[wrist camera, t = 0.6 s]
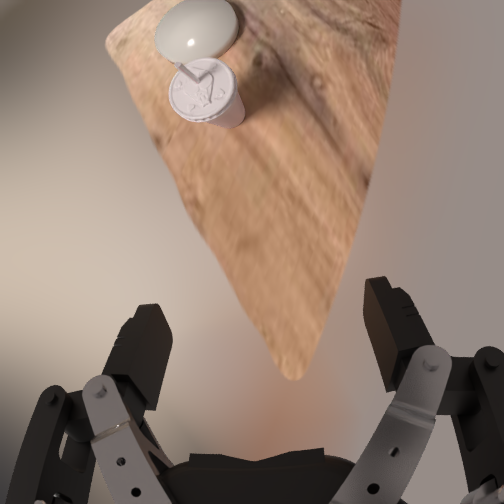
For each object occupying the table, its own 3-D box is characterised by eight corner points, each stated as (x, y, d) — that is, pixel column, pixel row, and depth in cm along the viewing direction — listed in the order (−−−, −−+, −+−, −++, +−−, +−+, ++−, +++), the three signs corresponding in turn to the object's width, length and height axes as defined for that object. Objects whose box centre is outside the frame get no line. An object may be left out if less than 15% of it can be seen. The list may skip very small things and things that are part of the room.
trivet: (170, 8, 32) (164, 1, 31) (244, -1, 30) (240, -8, 28) (154, 70, 35) (147, 65, 33) (232, 65, 32) (228, 59, 31)
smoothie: (245, 80, 33) (204, 23, 19) (265, 126, 33) (231, 82, 20) (197, 103, 34) (136, 61, 21) (214, 148, 35) (155, 121, 21)
